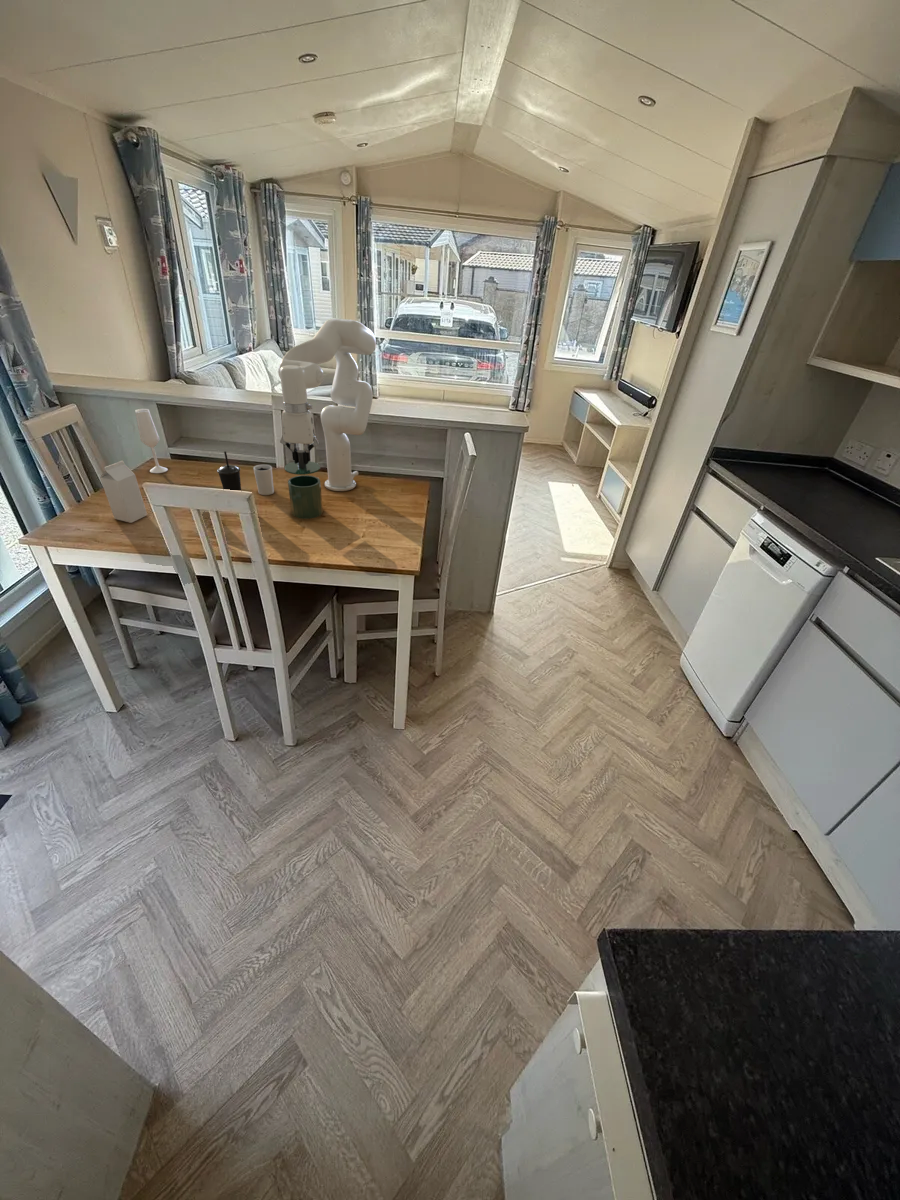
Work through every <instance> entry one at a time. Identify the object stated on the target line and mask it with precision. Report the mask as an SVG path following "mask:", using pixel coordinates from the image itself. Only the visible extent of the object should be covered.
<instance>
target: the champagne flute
mask: <svg viewBox="0 0 900 1200" xmlns="http://www.w3.org/2000/svg"><path fill="white" fill-rule="evenodd" d="M134 413H135V417H136V422H137V427H138V433H139V438H140V442H141V443H143V444H144V445H145V446H147V447H149V448H150V449H151V450H150V451H151V453H152V456H153V461H154V464H155V466H154V467H152V468H151V469H150V470H149V472H150V473H152V474H162V473H166V472H167V471H168V470H169V469H168V468H167V467H164V466H161V465H160V464H159V460H158V457H157V453H156V449H155V448H156V446H157V445H158V443H159V442H160V436H159V433H158V430H157V427H156V426H155V425H156V424H155V423H154V420H153V417H152V414H151V412H150V409H149V408H139V409H135V411H134Z"/></svg>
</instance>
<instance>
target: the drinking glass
mask: <svg viewBox="0 0 900 1200" xmlns="http://www.w3.org/2000/svg"><path fill="white" fill-rule="evenodd" d="M252 470H253V473H254V477H255V482H256V487H257V492H258V494H259V495H261V496H269V495H272V494H275V487H274V475H273V466H272V465H270V464H256V465H254V466H253V469H252Z"/></svg>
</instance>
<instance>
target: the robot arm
mask: <svg viewBox="0 0 900 1200" xmlns="http://www.w3.org/2000/svg"><path fill="white" fill-rule="evenodd" d="M376 346H377V340H376V336H375V334H374V332H373V331H372V330H371V329H370V328H368V327H367V326H366V325H365V324H363V323H362V322H360V321H358V320H356V319H350V318H349V319H347V318H338V317H331V318H328V319H326V320H325V321H324V322H323V323H322V325H321V326H320V328H319V329H318V331H317V332H316V333H315V334H314V336H313V337H312V338H311V339H310V340H306V341H304V342H302V343H300V344H298V345H295V346H293V347H291V348H290V349H289V350H288V351H287V352H286V353H285V355H284V356H283V357H282V358H281V360H280V362H279V365H278V370H277V373H278V378H279V379H280V385H281V393H282V402H283V410H282V413H281V430H282V431H281V432H282V435H281V438H280V440H279V443H280V444H281V445H283V446H286V448H288V450H290V452H291V454H292V460H293V462H295V464H297V463H298V461H297V451H298V450H299V449H297V444H301V445H303V447H304V451H305V452H304V461H305V464H308V462H309V461H311V453H310V451H311V450H313V448H315V447H318V446H319V445H320V442H319V439H318V438H317V435H316V428H315V421H314V418H313V413H312V411H311V410H313V404H310V403H309V401H308V392H307V389H315V388H318V387H319V386H320V385H321V384H322V383H323V381H324V375H325V374H324V370H323V369H322V366H321V364H324V363H328V362H330V361H332V359H333V358H334V359H335V371H334V374H333V375H334V376H333V380H332V384H331V389H330V399H331V401H332V402H333V403H334V404H336V405H334V404H332V405H331V404H330V405H326V406H325V407H323V408H322V410H321V411H320V422H321V426H322V427H321V428H322V431H323V435H324V443H325V455H326V457H325V458H326V468H327V479H326V480H325V481H324V487H325V488H326V489H327V490H329V491H335V492H347V491H350V490H353V489H354V488H356V486H357V482H356V481H355V479H354V478H355V477H358V476H359V471H358V470H354V471H353V472H352V456H351V455H352V453H351V443H350V439H349V437H348V435H353V436H362V435H363V434H364V433H365V432H366V429H367V428H368V427H367V426H368V422H369V419H370V414H371V409H372V404H373V397H374V395H373V392H374V391H373V388H372V386H371V385H370V383H368V382H367V381H364V380H358V377H359V367H358V364H357V362H356V360H355V359H354V358H353V356H352V354H355V355H363V356H369V355H372V354H373V353H374V352H375V350H376ZM319 364H320V365H319Z"/></svg>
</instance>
